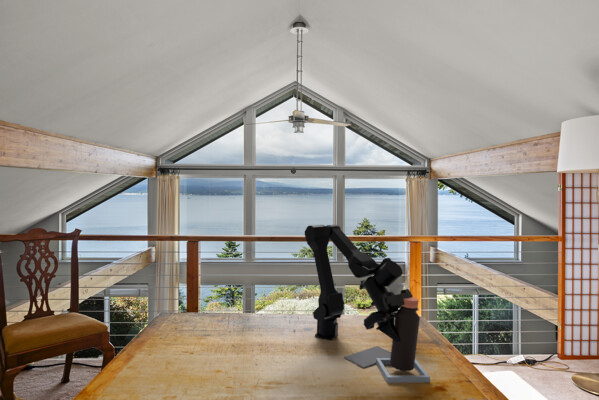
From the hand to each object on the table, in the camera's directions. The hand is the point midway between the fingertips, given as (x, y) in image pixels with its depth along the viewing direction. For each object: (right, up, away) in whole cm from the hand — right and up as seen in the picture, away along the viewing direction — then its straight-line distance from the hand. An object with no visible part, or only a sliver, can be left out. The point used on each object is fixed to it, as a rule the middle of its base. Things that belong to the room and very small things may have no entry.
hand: (406, 342), depth 120 cm
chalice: (+3, -8, +32) cm, 33 cm away
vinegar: (-1, -8, +2) cm, 8 cm away
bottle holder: (-1, -9, +2) cm, 9 cm away
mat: (-8, -8, +11) cm, 16 cm away
